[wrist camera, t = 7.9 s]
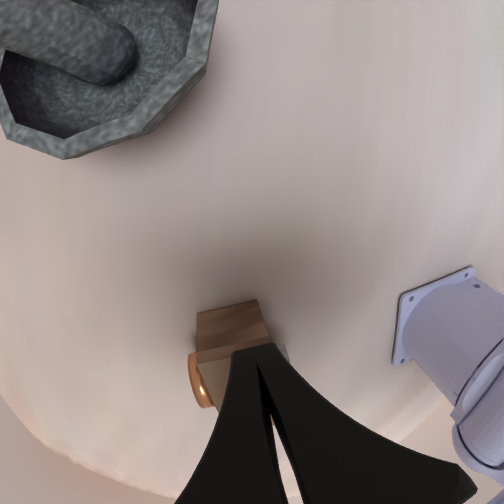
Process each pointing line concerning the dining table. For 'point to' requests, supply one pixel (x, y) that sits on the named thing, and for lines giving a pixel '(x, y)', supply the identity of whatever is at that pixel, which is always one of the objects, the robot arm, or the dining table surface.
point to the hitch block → (226, 342)
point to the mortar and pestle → (97, 68)
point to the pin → (198, 382)
